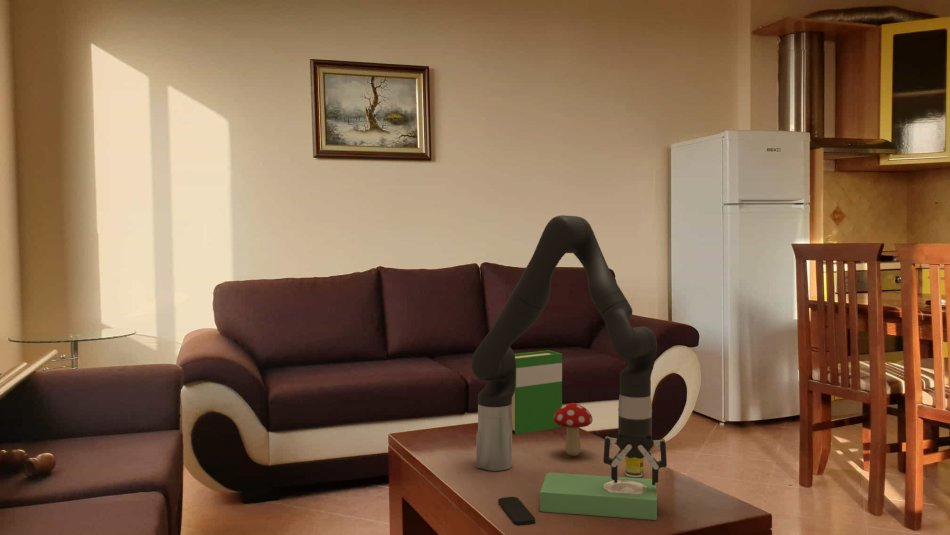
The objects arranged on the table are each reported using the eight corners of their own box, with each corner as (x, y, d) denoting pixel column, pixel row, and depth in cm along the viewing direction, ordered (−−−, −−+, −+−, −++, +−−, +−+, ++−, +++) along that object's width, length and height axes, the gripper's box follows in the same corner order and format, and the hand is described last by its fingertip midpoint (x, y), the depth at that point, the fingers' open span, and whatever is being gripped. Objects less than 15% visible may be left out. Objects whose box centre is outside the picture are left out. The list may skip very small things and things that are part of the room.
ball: (618, 510, 174) (616, 491, 173) (619, 503, 178) (616, 485, 178) (638, 509, 173) (636, 490, 173) (638, 502, 177) (635, 484, 177)
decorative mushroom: (600, 455, 214) (600, 403, 214) (578, 464, 206) (579, 410, 205) (567, 447, 222) (567, 397, 221) (545, 456, 213) (545, 404, 212)
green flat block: (540, 511, 173) (540, 492, 172) (547, 490, 186) (547, 472, 186) (656, 520, 167) (657, 500, 167) (655, 497, 181) (655, 479, 181)
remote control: (536, 527, 166) (516, 501, 180) (536, 520, 165) (516, 494, 180) (515, 530, 164) (496, 503, 179) (515, 522, 164) (496, 496, 179)
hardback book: (516, 434, 236) (516, 358, 234) (503, 429, 242) (503, 355, 241) (561, 426, 244) (562, 353, 243) (548, 421, 251) (548, 350, 249)
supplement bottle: (643, 478, 195) (643, 446, 194) (624, 477, 196) (625, 445, 195) (643, 472, 199) (643, 441, 199) (624, 471, 200) (625, 440, 200)
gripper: (602, 416, 172) (602, 486, 172) (667, 419, 169) (667, 490, 169) (604, 408, 179) (604, 475, 180) (666, 411, 176) (665, 479, 177)
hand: (634, 482), depth 175 cm, fingers open, 8 cm apart
